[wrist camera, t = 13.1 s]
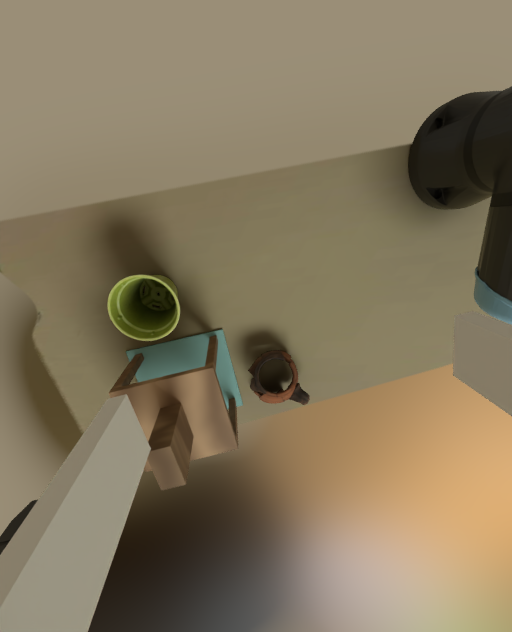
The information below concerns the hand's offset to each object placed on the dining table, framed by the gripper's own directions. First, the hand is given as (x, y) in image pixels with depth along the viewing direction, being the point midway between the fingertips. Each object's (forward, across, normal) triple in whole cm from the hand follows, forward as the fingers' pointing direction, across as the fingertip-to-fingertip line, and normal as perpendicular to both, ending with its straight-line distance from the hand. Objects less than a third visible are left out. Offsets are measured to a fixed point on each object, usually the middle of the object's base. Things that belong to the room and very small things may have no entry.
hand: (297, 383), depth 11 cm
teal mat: (+36, +15, +18) cm, 44 cm away
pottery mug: (+37, -1, +22) cm, 43 cm away
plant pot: (+37, +15, +2) cm, 40 cm away
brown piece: (+36, +15, +18) cm, 43 cm away
